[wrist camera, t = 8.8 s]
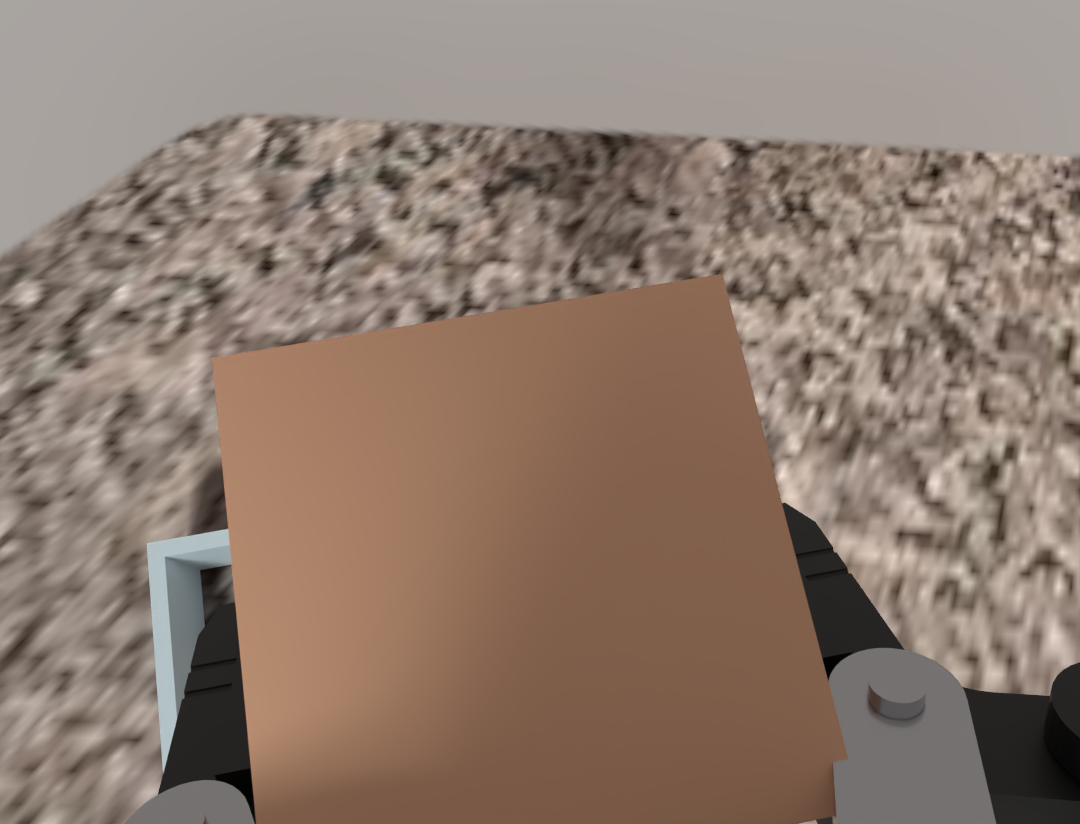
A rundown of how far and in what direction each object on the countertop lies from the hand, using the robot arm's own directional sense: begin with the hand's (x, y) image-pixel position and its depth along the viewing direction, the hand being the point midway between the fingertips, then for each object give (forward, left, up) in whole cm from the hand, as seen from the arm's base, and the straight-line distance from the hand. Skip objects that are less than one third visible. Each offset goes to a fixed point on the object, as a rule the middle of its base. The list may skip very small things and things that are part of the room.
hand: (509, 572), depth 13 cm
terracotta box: (0, -1, -6) cm, 6 cm away
